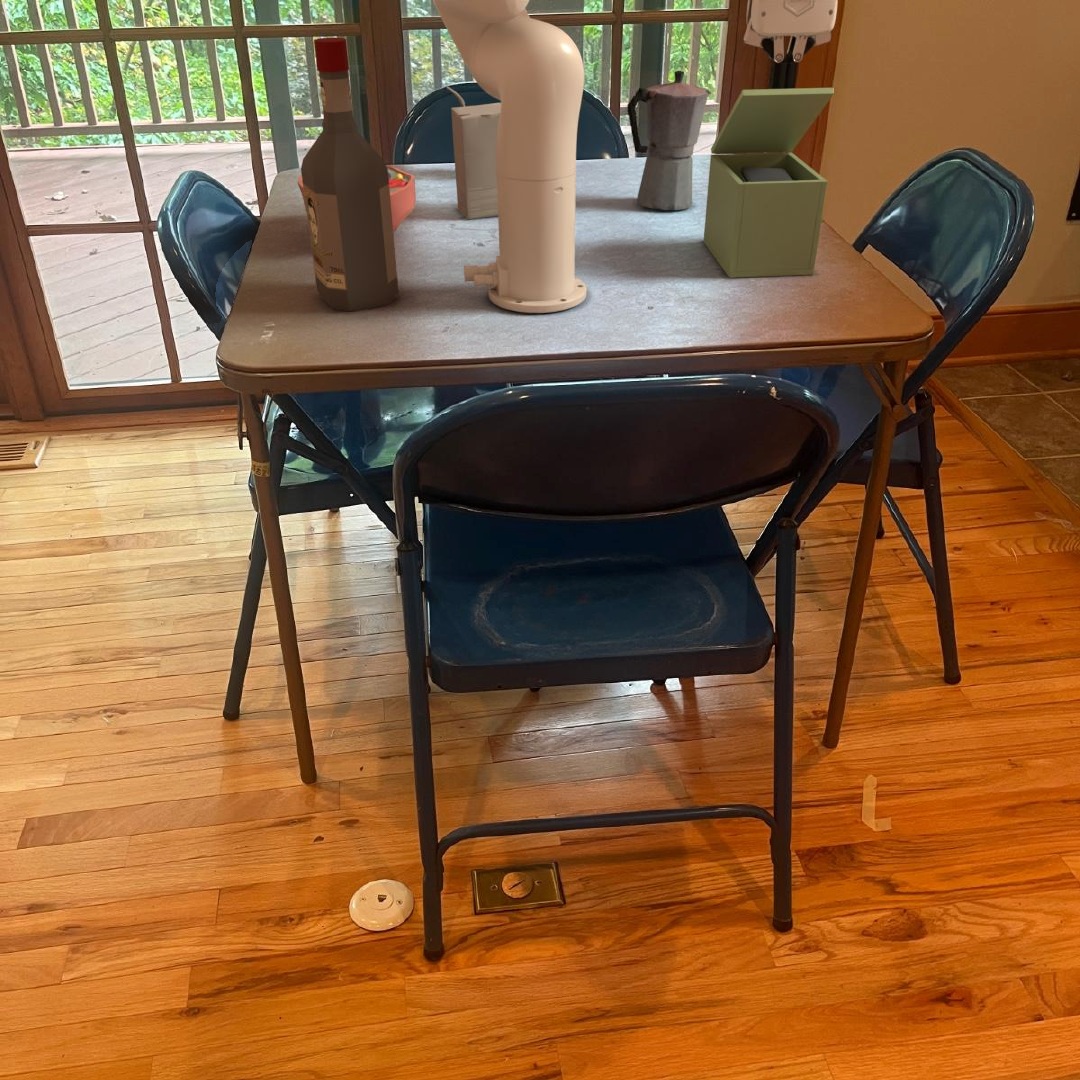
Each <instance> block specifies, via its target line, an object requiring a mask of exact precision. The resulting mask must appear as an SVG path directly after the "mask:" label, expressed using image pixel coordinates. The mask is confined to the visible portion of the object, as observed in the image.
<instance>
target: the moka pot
mask: <svg viewBox="0 0 1080 1080" xmlns="http://www.w3.org/2000/svg"><path fill="white" fill-rule="evenodd" d="M684 75H685V72H684V71H682V70H675V71H674V81H672V82H668V83H662V84H657V85H653V86H649V87H647V88H643V87H639V88H638V90H636V92H635V95H633V96H632V97H631V99H630V100H629V102H628V104H627V107H626V108H627V115H628V117H629V118H628V119H629V125H630V131H631V137H632V143H633V148H634V152H635V153H640V154H644V153H645V154H646V153H647V156H646V159H645V163H644V167H643V172H642V175H641V180H640V185H639V189H638V193H637V198H636V201H637V203H638V204H639V205H641V206H642V207H645V208H649V209H653V210H659V211H660V210H662V211H681V210H687V209H689V208H690V207H692V204H693V163H694V160H693V157H692V156H693V155H694V150H695V145H696V144H697V143H698V140H699V136H700V131H701V127H702V123H703V118H704V115H705V110H706V106H707V101H708V98H709V96H710V95H711V94H712V92H711V90H710V89H708V88H706V87H701V86H696V85H691V84H688V83H685V82H683V79H684ZM640 101H641V102H643V103H646V138H647V141H648V145H641V144H642V143H641V140H640V137H639V127H638V115H637V110H636V107H637V105H638V103H639V102H640Z"/></svg>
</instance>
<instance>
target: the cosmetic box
mask: <svg viewBox="0 0 1080 1080" xmlns="http://www.w3.org/2000/svg"><path fill="white" fill-rule="evenodd" d="M450 111H451V125H452V126H451V128H452V143H453V155H454V156H453V158H454V170H455V172H454V173H455V184H456V185H455V187H456V200H457V209H458V210H459V212H460V213H461V214H462V215H463V216H464V218H465V219H467V220H476V219H484V218H490V217H498V189H497V165H496V144H497V132H498V125H499V119H500V112H501V102H494V103H493V102H492V103H485V104H477V105H467V106H466V105H465V107H462V106H456V107H451V109H450Z"/></svg>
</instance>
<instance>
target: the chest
mask: <svg viewBox="0 0 1080 1080" xmlns="http://www.w3.org/2000/svg"><path fill="white" fill-rule="evenodd" d="M742 167H751V168H776V169H785V170H786V172H787V173H788V175H789V176H790V177H791V179H792V180H793V181H766V182H744V183H743V182H742V181H741V179H740V178H741V168H742ZM827 187H828V180H827V179H826V178H824V177H823V176H821V175H820V173H818V172H817V171H815V170H814V169H813V168H812V167H811V166H810V165H808V164H806V162H804V160H802V159H801V158H799V157H798V156H797V155H795V153H793V152H792V151H789V152H753V153H718V154H711V155H710V160H709V173H708V182H707V195H706V207H705V208H706V209H705V217H704V231H703V243H704V245H705V246H706V247H707V249H708V250H709V252H710V253H711V255H712V256H713V258H715V260H716V261H717V263H718V264H719V265H720V267H721V268H722V270H723V271H724V272H725V274H726V275H727V276H728V278H730V279H734V278H735V279H736V278H738V279H739V278H758V277H759V278H762V277H789V276H813V275H814V273H815V267H816V261H817V256H818V255H817V254H818V249H819V247H818V246H819V240H820V234H821V227H822V221H823V215H824V208H825V202H826V201H825V200H826V194H827V189H828V188H827Z"/></svg>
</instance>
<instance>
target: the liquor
mask: <svg viewBox="0 0 1080 1080" xmlns="http://www.w3.org/2000/svg"><path fill="white" fill-rule="evenodd" d="M313 46H314V54H315V62H316V71H317V72H318V76H319V77H318V78H319V85H320V86H319V87H320V96H321V103H322V115H323V120H322V123H321V127H322V131H321V132H320V134H319V135H318V137H317V138H316V139H315V141H314V142H313V144H312V145H311V147H310V148H309V150H308V151H307V153H306V154H305V156H304V157H303V159H302V161H301V162H302V163H301V167H300V173H301V175H302V182H303V189H304V196H305V204H306V208H305V212H306V211H307V212H306V218H307V226H308V233H309V241H310V247H311V249H310V250H311V257H312V262H313V269H314V278H315V285H316V291H317V292H318V294H319V295H320V297H321V298H322V300H324V302H325V303H326V304H327V305H328V306H329V307H330V308H331V309H332V310H337V311H345V312H355V311H361V310H367V309H374V308H378V307H384V306H387V305H389V304H390V303H392V301H394V300H395V299H396V298H397V295H398V293H399V283H398V270H397V259H396V250H395V249H396V248H395V237H394V235H395V234H394V233H393V224H392V212H391V201H390V189H389V178H388V169H387V167H386V166H387V164H386V162H385V160H384V159H383V157H381V155H380V154H379V153H378V152H377V151H376V150H375V149H374V147H373V146H372V145H371V144H370V143H369V142H368V141H367V140H366V139H365V137H363V135H362V134H361V133H360V132H359V131H358V130H357V129H358V128H357V127H358V126H357V122H356V120H355V118H354V110H353V106H352V104H353V102H352V93H351V85H350V77H349V70H350V62H349V55H348V45H347V39H346V38H344V37H321V38H315V39H313ZM305 204H304V205H305Z"/></svg>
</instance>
